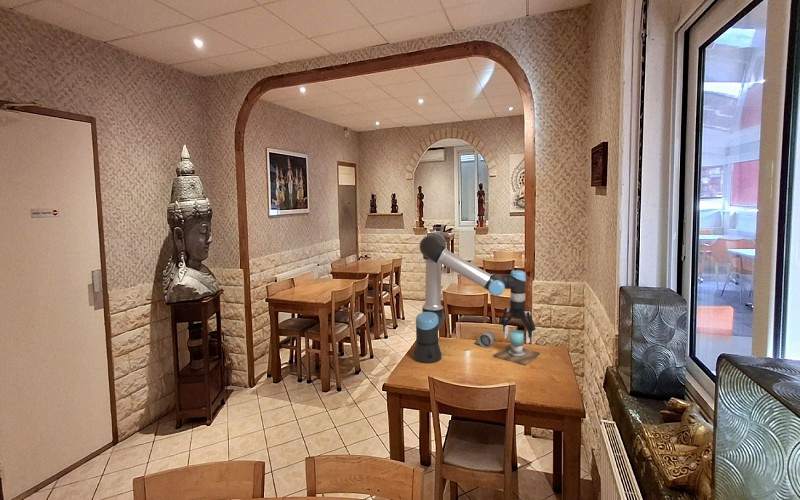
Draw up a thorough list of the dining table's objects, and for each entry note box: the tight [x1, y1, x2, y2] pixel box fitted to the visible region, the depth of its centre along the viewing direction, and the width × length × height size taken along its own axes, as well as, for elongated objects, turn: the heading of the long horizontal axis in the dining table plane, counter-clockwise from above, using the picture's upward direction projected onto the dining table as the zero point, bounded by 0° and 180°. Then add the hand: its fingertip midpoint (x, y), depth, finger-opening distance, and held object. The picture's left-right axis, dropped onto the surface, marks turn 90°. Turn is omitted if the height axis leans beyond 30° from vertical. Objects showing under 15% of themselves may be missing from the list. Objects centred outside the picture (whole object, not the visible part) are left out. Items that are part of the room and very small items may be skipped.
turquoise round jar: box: [509, 329, 525, 346], centre depth 220 cm, size 7×7×7 cm
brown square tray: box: [492, 344, 541, 367], centre depth 221 cm, size 18×18×7 cm
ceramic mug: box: [474, 331, 496, 349], centre depth 238 cm, size 11×8×8 cm
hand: (516, 340), depth 220 cm, fingers open, 11 cm apart
